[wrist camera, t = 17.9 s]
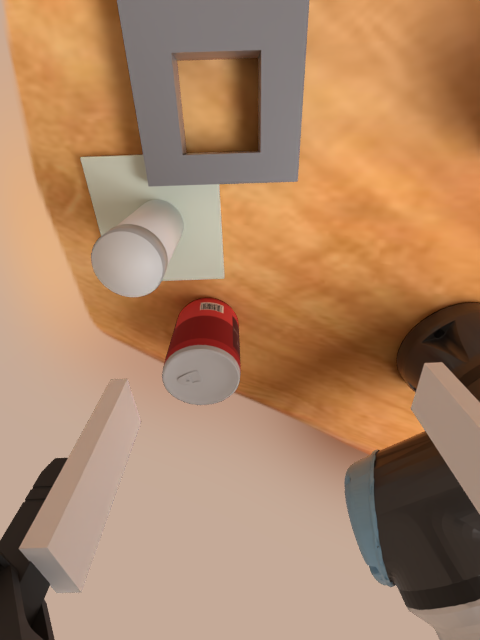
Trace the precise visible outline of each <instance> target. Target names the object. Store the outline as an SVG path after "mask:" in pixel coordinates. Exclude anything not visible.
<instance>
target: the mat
mask: <svg viewBox="0 0 480 640" xmlns="http://www.w3.org/2000/svg"><path fill="white" fill-rule="evenodd" d="M206 153H217V152H206ZM186 154H193V153H186ZM80 159H81V163H82V167H83V170H84V174H85V178H86V182H87V185H88V189H89V193H90V196H91V200H92V204H93V208H94V211H95V215H96V219H97V223H98V226H99V230H100V234H101V236H102V235H104V234H105V233H106V232H107V231H109V230H110V229H111V228H113V227H115V226H117V225H118V224H120V223H121V222H122V221H123V220H124V219H126V218H127V217H128V216H129V215H131V214H132V213H133V212H134V211H136V210H137V209H138V208H139V207H140V206H142V205H143V204H144V203H146V202H147V201H150V200H155V199H158V200H164V201H167V202H169V203H170V204H172V205H173V206H175V207H176V208H177V210H178V211H179V212H180V214H181V216H182V219H183V223H184V230H183V234H182V236H181V238H180V240H179V243H178V245H177V247H176V249H175V251H174V253H173V255H172V257H171V259H170V261H169V263H168V266H167V270H166V273H165V275H164V277H163V279H162V281H173V280H201V279H224V276H225V274H224V257H223V240H222V223H221V206H220V189H219V184H209V185H180V186H150V187H149V186H148V180H147V174H146V169H145V163H144V157H143V155H116V156H86V157H80Z"/></svg>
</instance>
